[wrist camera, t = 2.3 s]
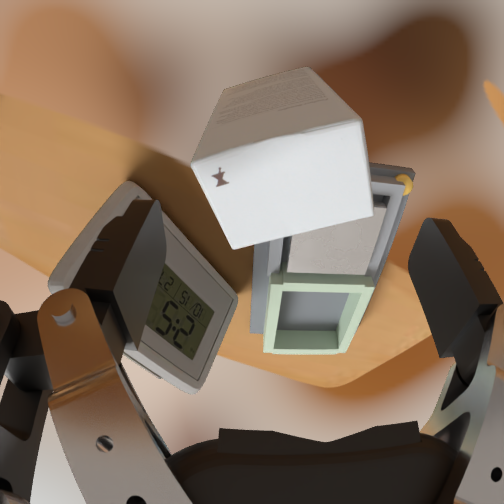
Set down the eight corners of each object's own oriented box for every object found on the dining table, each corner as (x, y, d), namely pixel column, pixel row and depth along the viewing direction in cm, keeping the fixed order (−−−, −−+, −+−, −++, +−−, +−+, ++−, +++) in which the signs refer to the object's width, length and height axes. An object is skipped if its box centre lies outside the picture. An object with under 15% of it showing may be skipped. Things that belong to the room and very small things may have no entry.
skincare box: (243, 142, 22) (227, 254, 13) (222, 88, 20) (183, 161, 11) (326, 121, 21) (378, 219, 12) (311, 64, 18) (362, 113, 9)
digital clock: (244, 298, 33) (239, 394, 25) (169, 314, 35) (149, 400, 27) (169, 158, 23) (119, 251, 15) (83, 196, 25) (22, 284, 17)
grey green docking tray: (250, 328, 36) (249, 353, 34) (258, 153, 23) (258, 173, 20) (353, 330, 36) (357, 353, 34) (411, 168, 23) (428, 189, 20)
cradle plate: (286, 265, 27) (286, 272, 26) (295, 195, 22) (296, 201, 22) (362, 268, 27) (364, 274, 26) (383, 202, 22) (386, 208, 22)
